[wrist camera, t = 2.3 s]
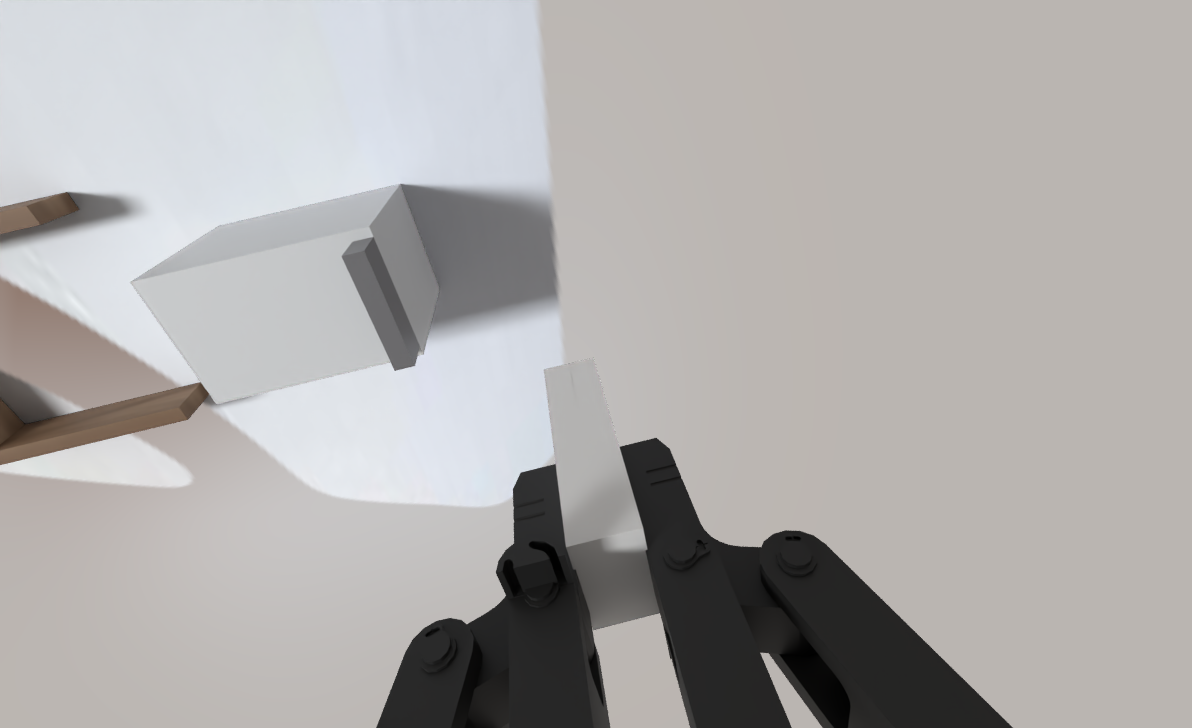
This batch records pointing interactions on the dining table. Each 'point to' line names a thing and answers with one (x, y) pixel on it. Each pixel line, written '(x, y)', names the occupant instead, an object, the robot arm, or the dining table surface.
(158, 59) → the dining table surface
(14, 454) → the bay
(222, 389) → the grey box with ridge
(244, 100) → the dining table surface
